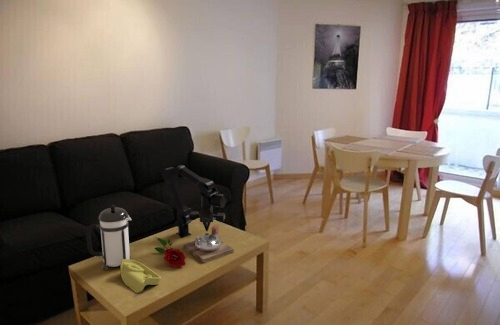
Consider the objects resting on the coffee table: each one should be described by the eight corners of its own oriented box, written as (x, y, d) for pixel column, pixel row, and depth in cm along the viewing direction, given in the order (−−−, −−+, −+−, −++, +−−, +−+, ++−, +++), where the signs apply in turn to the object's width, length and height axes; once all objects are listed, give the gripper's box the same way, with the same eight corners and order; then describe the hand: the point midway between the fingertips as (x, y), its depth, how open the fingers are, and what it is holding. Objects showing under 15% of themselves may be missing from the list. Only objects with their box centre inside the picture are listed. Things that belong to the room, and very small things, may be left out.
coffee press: (121, 252, 190) (116, 196, 183) (139, 263, 180) (136, 204, 173) (88, 265, 177) (82, 206, 170) (106, 277, 167) (101, 215, 160)
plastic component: (163, 278, 164) (145, 277, 156) (156, 294, 163) (138, 294, 155) (137, 259, 176) (119, 258, 168) (131, 275, 175) (113, 274, 167)
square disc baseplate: (183, 247, 196) (183, 244, 196) (212, 238, 207) (212, 235, 207) (203, 263, 181) (203, 259, 181) (233, 252, 192) (233, 248, 192)
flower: (150, 227, 194) (179, 253, 172) (164, 230, 200) (195, 256, 179) (142, 243, 193) (171, 271, 172) (157, 246, 200) (186, 273, 178)
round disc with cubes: (215, 253, 186) (215, 241, 184) (191, 250, 189) (190, 237, 188) (227, 238, 203) (227, 226, 201) (205, 235, 207) (205, 223, 205)
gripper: (185, 208, 192) (186, 236, 196) (222, 210, 190) (221, 238, 194) (191, 201, 203) (191, 227, 207) (225, 202, 201) (224, 229, 205)
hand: (207, 231), depth 203 cm, fingers closed
